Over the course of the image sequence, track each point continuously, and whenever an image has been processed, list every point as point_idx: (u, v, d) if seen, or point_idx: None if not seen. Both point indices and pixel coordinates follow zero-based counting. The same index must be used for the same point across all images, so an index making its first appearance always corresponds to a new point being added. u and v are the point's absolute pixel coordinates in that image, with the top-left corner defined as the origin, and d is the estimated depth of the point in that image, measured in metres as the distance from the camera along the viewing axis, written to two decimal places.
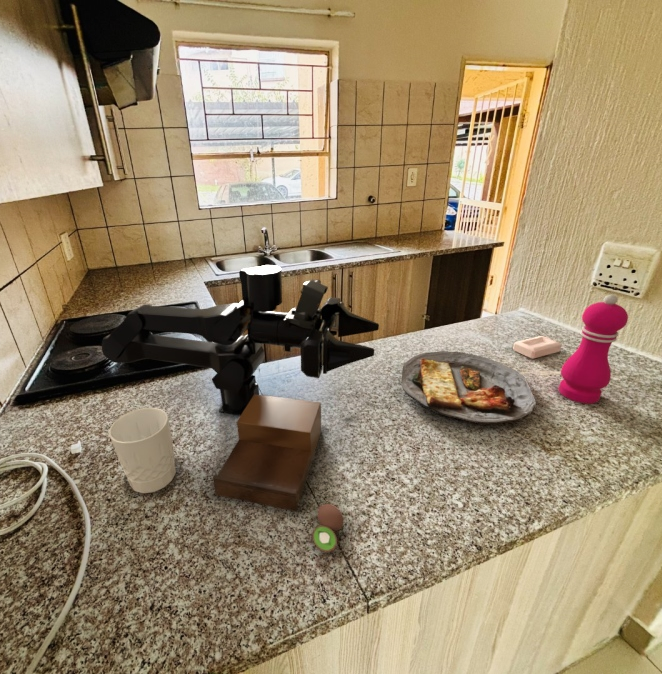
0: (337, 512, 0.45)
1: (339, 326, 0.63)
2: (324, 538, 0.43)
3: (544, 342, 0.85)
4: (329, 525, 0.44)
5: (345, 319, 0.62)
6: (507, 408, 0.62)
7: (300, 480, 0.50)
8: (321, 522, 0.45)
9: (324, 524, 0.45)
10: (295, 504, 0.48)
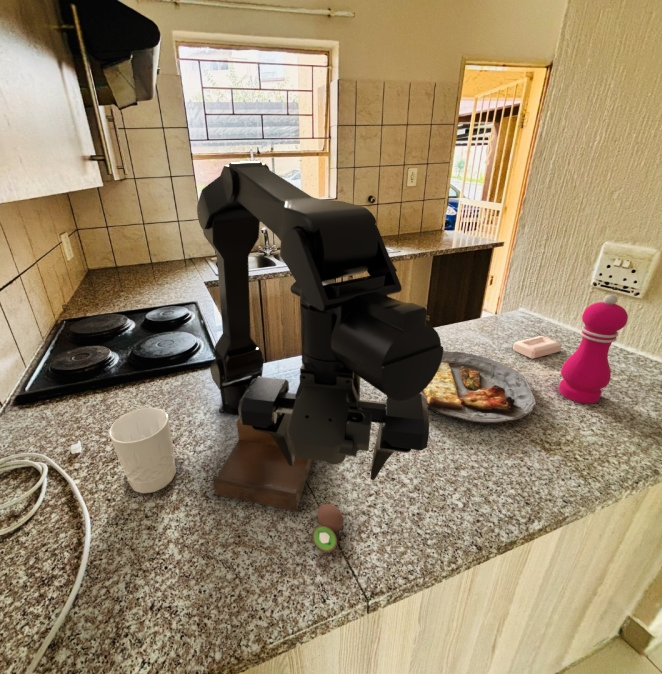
0: (337, 512, 0.45)
1: (381, 423, 0.37)
2: (324, 538, 0.43)
3: (544, 342, 0.85)
4: (329, 525, 0.44)
5: (378, 440, 0.37)
6: (507, 408, 0.62)
7: (300, 480, 0.50)
8: (321, 522, 0.45)
9: (324, 524, 0.45)
10: (295, 504, 0.48)
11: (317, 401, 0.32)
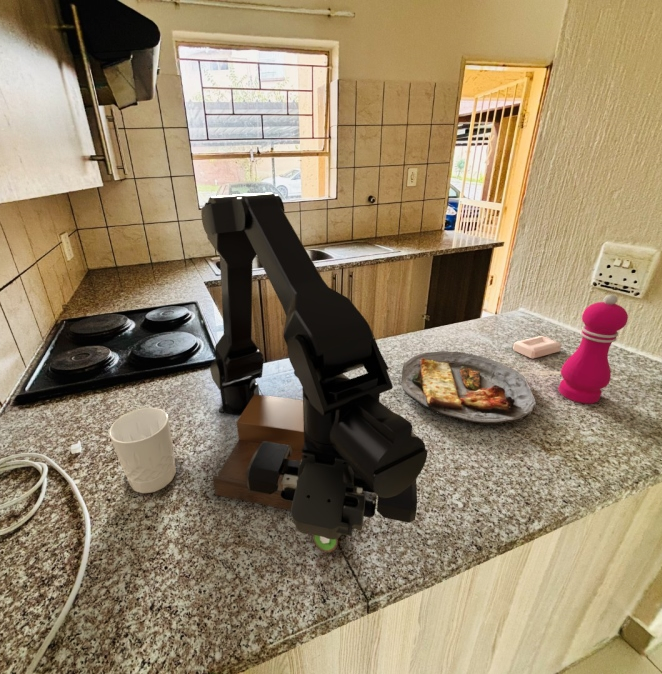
0: None
1: None
2: (324, 539, 0.43)
3: (544, 342, 0.85)
4: None
5: None
6: (507, 408, 0.62)
7: None
8: None
9: None
10: None
11: (317, 481, 0.36)
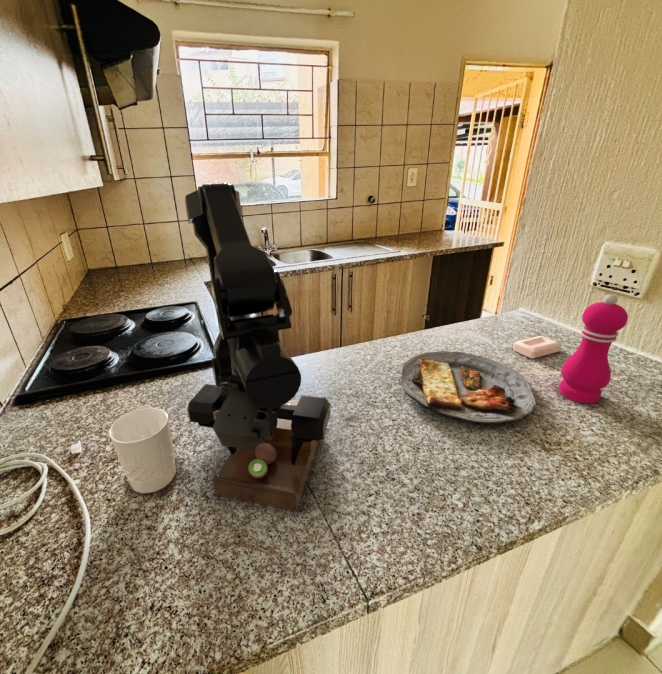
0: (271, 448, 0.53)
1: None
2: (257, 468, 0.51)
3: (544, 342, 0.85)
4: (263, 458, 0.52)
5: None
6: (507, 408, 0.62)
7: (300, 480, 0.50)
8: (257, 456, 0.52)
9: (259, 457, 0.52)
10: (295, 504, 0.48)
11: (238, 404, 0.43)
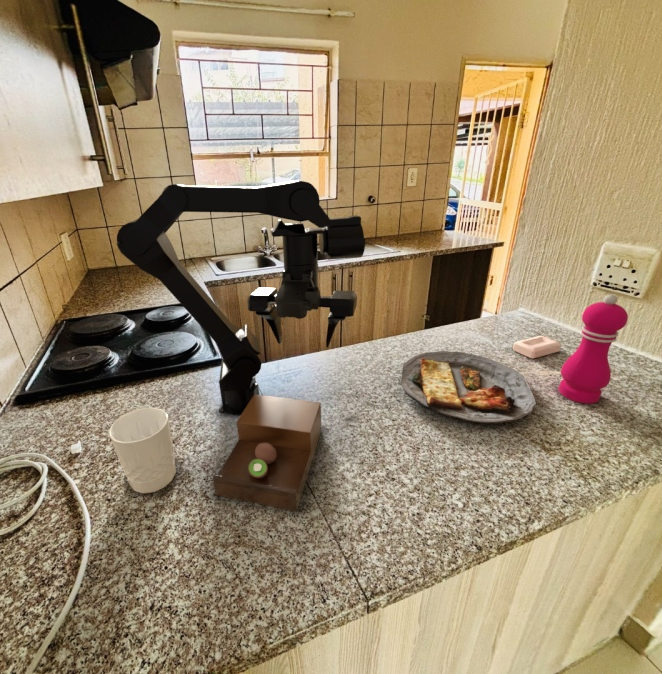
0: (271, 448, 0.53)
1: None
2: (257, 468, 0.51)
3: (544, 342, 0.85)
4: (263, 458, 0.52)
5: None
6: (507, 408, 0.62)
7: (300, 480, 0.50)
8: (257, 456, 0.52)
9: (259, 457, 0.52)
10: (295, 504, 0.48)
11: (291, 287, 0.58)
